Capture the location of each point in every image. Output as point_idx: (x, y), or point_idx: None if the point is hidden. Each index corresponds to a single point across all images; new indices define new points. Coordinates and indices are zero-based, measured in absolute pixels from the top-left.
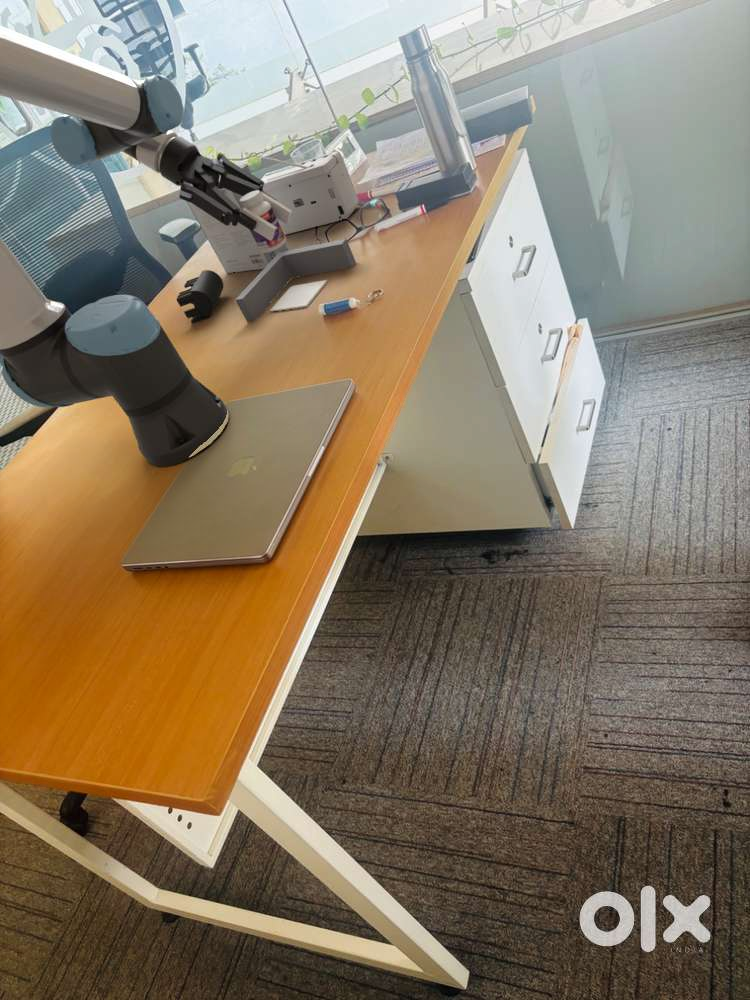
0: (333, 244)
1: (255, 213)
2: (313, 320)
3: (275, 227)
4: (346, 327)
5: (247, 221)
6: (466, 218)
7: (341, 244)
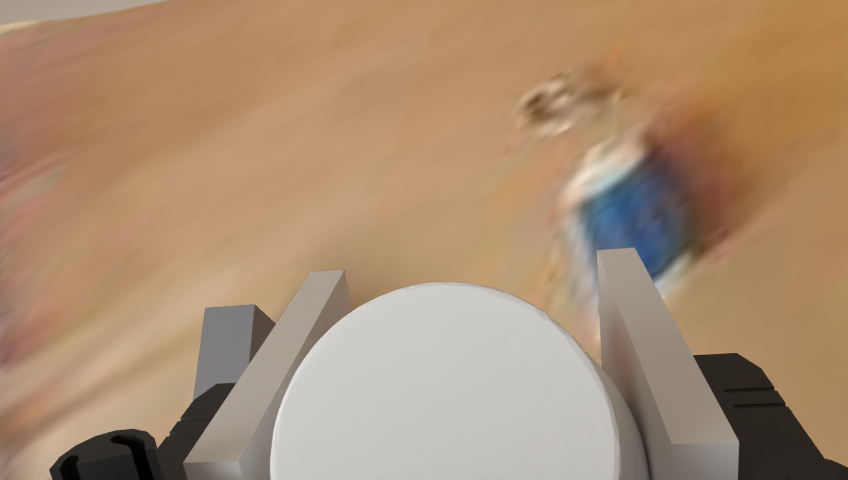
0: (235, 363)
1: (605, 375)
2: (731, 295)
3: (605, 251)
4: (776, 104)
5: (778, 401)
6: (121, 25)
7: (255, 308)
